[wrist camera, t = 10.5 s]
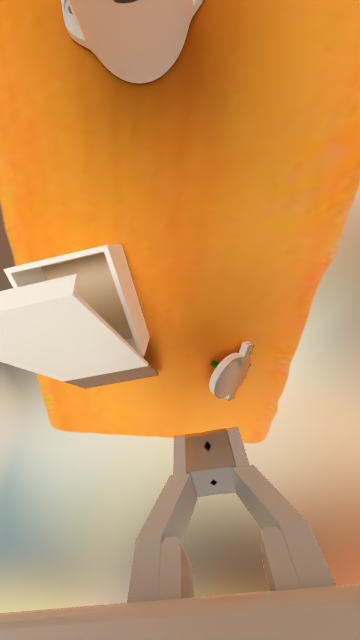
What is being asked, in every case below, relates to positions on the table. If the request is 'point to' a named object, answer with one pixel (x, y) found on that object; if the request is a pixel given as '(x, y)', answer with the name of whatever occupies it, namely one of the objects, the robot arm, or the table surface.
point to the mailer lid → (64, 337)
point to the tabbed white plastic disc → (230, 372)
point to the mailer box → (95, 287)
